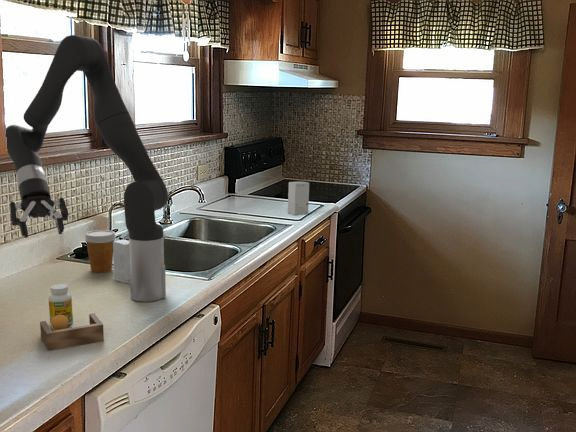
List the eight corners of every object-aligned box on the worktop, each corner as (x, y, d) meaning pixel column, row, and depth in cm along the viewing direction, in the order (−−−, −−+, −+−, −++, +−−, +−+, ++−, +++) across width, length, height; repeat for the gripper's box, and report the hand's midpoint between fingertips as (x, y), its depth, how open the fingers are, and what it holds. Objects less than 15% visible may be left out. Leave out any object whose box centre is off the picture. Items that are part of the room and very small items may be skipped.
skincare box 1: (137, 280, 192) (137, 242, 190) (126, 283, 189) (125, 244, 187) (124, 276, 196) (123, 238, 193) (113, 279, 193) (112, 241, 190)
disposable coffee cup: (91, 265, 207) (90, 229, 205) (120, 266, 207) (119, 230, 204) (81, 273, 198) (79, 236, 195) (111, 274, 197) (110, 237, 195)
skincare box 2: (294, 215, 293) (295, 183, 289) (286, 213, 297) (287, 181, 294) (309, 213, 297) (310, 182, 294) (301, 211, 302) (302, 180, 299)
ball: (63, 311, 155) (63, 311, 151) (71, 325, 155) (71, 326, 151) (47, 320, 153) (47, 320, 150) (56, 334, 154) (56, 334, 150)
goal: (94, 328, 155) (94, 313, 154) (103, 340, 148) (103, 324, 147) (40, 337, 148) (40, 321, 148) (47, 350, 142) (46, 333, 141)
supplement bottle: (69, 318, 161) (67, 281, 159) (75, 324, 157) (73, 287, 155) (47, 322, 158) (45, 285, 156) (52, 329, 154) (50, 291, 152)
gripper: (5, 178, 168) (15, 229, 161) (61, 175, 175) (73, 223, 168) (4, 195, 174) (14, 245, 166) (58, 191, 181) (70, 239, 173)
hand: (43, 234), depth 167 cm, fingers open, 8 cm apart
